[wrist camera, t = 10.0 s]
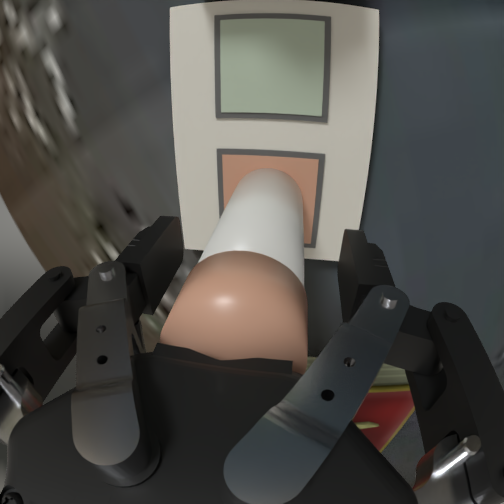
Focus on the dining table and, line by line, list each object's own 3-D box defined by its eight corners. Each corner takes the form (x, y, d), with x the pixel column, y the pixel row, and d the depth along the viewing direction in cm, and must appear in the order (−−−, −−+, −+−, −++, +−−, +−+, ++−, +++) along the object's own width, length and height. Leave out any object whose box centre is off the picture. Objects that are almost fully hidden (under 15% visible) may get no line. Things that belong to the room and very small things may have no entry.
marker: (307, 168, 15) (317, 313, 6) (301, 235, 17) (298, 403, 8) (231, 164, 15) (146, 295, 7) (232, 230, 17) (173, 387, 9)
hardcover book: (276, 444, 35) (273, 471, 32) (282, 347, 24) (278, 390, 21) (364, 445, 34) (364, 472, 30) (421, 349, 23) (431, 389, 19)
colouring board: (375, 12, 11) (379, 9, 10) (350, 254, 18) (352, 263, 17) (175, 10, 12) (168, 7, 11) (189, 242, 19) (184, 250, 19)
